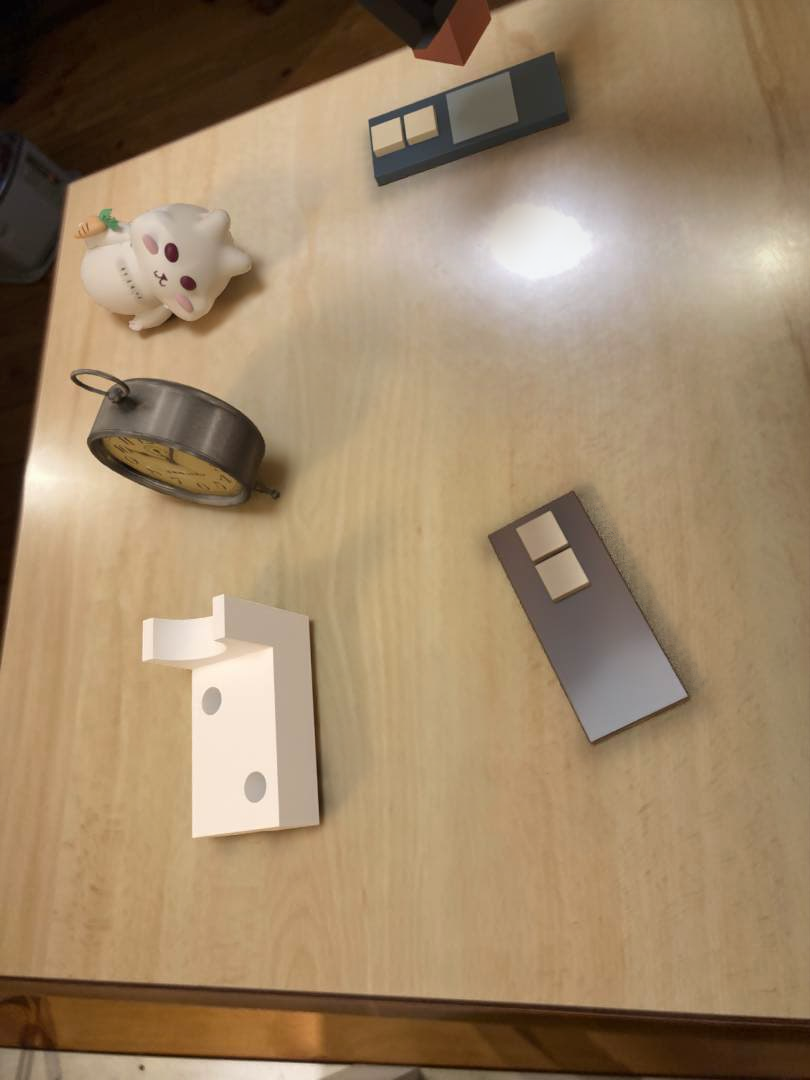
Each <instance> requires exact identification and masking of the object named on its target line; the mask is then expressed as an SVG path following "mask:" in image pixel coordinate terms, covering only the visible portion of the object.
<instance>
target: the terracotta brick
mask: <svg viewBox="0 0 810 1080" xmlns="http://www.w3.org/2000/svg"><path fill="white" fill-rule="evenodd" d="M491 21H492V16H491V11H490V8H489V5H488V1H487V0H458V1H457V3H456V4H455V6H454V8H453V9H452V11H451V13H450V14H449V16H448V18H447V19H446V21H445V23H444V24H443V26H442V28H441V29H440V31H439V33H438V34H437V35H436V37H435V38H434V39H433V41H432V42H431V43H430V45H429V46H428V47H427V49H420V50H413V49H411V51H412V54H413V57H414V58H415V59H417V60H422V61H429V62H435V63H439V64H440V63H441V64H447V65H453V66H459V67H465V66H466V64H467V62H468V60H469V59H470V57H471V56H472V53H473V52H474V50H475V49H476V47H477V45H478V44H479V43H480V40H481V38H482V37H483V35H484V34H485V31H486V30H487V28H488V27H489V25H490V23H491Z"/></svg>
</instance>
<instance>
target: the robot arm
mask: <svg viewBox="0 0 810 1080" xmlns="http://www.w3.org/2000/svg"><path fill="white" fill-rule="evenodd" d="M457 1H458V0H354V2H355V3H357V4H358V5H359V6H360V7H362V8H363V9H364V10H365V11H366V12H367V13H368V14H370V15H371V16H372V17H373V18H374V19H376V20H377V21H378V22H379V23H381V24H382V25H383V26H384V27H385V28H386V29H387V30H389V31H390V32H391V33H392V34H394V36H396V37H397V38H398V39H399V40H401V41H402V42H403V43H404V44H405V45H407V46H408V47H409V48H410V49H411V50H412V49H413V50H420V49H427V47H428V46H429V45H430V43H431V42H432V41H433V39H434V38H435V37H436V35H437V34H438V33H439V31H440V29H441V28H442V26H443V24H444V23H445V21H446V19H447V18H448V16H449V14H450V13H451V11H452V9H453V8H454V6H455V4H456V3H457Z"/></svg>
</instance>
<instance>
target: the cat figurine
mask: <svg viewBox="0 0 810 1080" xmlns="http://www.w3.org/2000/svg"><path fill="white" fill-rule="evenodd" d="M113 210H114V209H113V208H104V209H102V210H101V211H100V212H99V214H98V215H90V216H89V217H87V218H85V220H83V221H81V222H80V223H79V224H78V225H77V228H76V230H75V232H74V233H73V238H75V239H77V240H84V244H85V246H86V247H87V248H88V249H87V250H86V252H85V254H84V256H83V258H82V259H81V263H80V270H79V274H80V275H79V276H80V281H81V284H82V287H83V290H84V291H85V292H86V294H87V295H88V297H89V298H90V299H91V300H92V301H93V302H94V303H95V304H97V305H98V306H99V307H101V308H103V309H105V310H106V311H108V312H112V313H114V314H118V315H127V316H134V317H133V318H132V320H129V321H128V323H129V325H128V328H130V329H131V330H133V331H136V332H137V331H142V330H146V329H147V330H148V329H151V328H157V327H159V326H161V325H162V324H163V323H165V322H166V321H167V320H168V319H170V318H171V316H172V315H173V314H174V315H175V316H176V317H178V318H180V319H182V320H184V321H186V322H194V321H197V320H198V319H201V318H202V317H204V316H205V315H206V314H208V313H209V312H210V311H211V309H212V307H213V305H214V302H215V300H216V299H217V298H218V297H219V296H220V295H221V294H222V293H223V292H224V290H225V289H226V287H227V286H228V284H229V283H230V281H231V278H232V277H236V276H240V275H243V274H245V273H247V272H249V271H250V270H251V269H252V266H253V265H252V264H253V263H252V260H251V257H249V255H247V254H246V253H245V252H243V251H242V250H240V249H239V248H237V247H236V243H235V239H234V237H233V235H232V233H231V231H230V229H231V216H230V214H229V212H228V211H227V210H225V209H223V208H219V209H216V210H211V211H210V210H209V209H207V208H205V207H202V206H200V205H198V204H193V203H184V202H183V203H181V202H180V203H177V202H176V203H168V204H167V203H166V204H160V205H156V206H154V207H151V208H149V209H148V210H146V211H145V212H144V213H142V214H139V215H137V216H136V217H135V218H133V220H132V221H130V222H125V221H122V220H118V219H116V217H115V216H113V217H112V215H111V214H112V211H113Z"/></svg>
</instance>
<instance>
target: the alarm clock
mask: <svg viewBox="0 0 810 1080" xmlns="http://www.w3.org/2000/svg"><path fill="white" fill-rule="evenodd" d="M80 375H90V376H95V377H99V378H103V379H104V380H108V381H110V382H113V383H114V384H113V385H112V386H110V387H109V388H108V389H107V390H106V391H105V390H102V389H99V388H95V387H93V386H91V385H88V384H86V383H84V382H82V381H81V380H79V379H78V378H77V376H80ZM69 377H70V378H69V379H70V380H71V381H72V383H74V384H75V385H76V386H77V387H80V388H82V389H84V390H86V391H88V392H91V393H95V394H98V395H99V396H100V395H101V396H103V398H102V401H101V403H100V406H99V409H98V411H97V414H96V416H95V419H94V422H93V423H92V427H91V429H90V432H89V434H88V437H87V439H86V445H87V447H88V449H89V451H90V453H91V455H93V456H94V457H95V459H96V460H97V461H99V462H100V463H101V464H102V465H103V466H105V467H106V468H108V469H109V470H111V471H112V472H114V473H116V474H118V475H119V476H121V477H123V478H125V479H127V480H129V481H131V482H133V483H135V484H137V485H140V486H142V487H145V488H147V489H149V490H151V491H155V492H157V493H160V494H163V495H165V496H169V497H172V498H175V499H179V500H183V501H187V502H190V503H194V504H199V505H205V506H211V507H212V506H213V507H235V506H242V505H243V504H246V503H247V502H249V501H250V500H251V499H252V497H253V492H256V493H260V494H264V495H267V496H270V497H271V498H272V499H273V500H279V498H280V497H281V494H280V493H281V492H280V491H279V490H277V489H271V488H270V487H269V486H267V485H266V484H264V483H262V482H260V481H259V480H258V481H257V479H258V476H259V472H260V469H261V466H262V463H263V460H264V457H265V454H266V442H265V439H264V436H263V435H262V432H261V430H260V429H259V428H258V427H257V425H256V424H255V423H254V422H253V421H252V419H250V417H248V416H247V415H246V414H245V413H243V412H242V411H241V410H239V409H238V408H237V407H235V406H233V405H232V404H231V403H228V402H227V401H225V400H223V399H221V398H219V397H217V396H216V395H213V394H212V393H209V392H206V391H204V390H202V389H199V388H196V387H194V386H191V385H188V384H184V383H181V382H177V381H173V380H168V379H162V378H154V377H133V378H128V379H124V380H122V379H120V378H118V377H116V376H114V375H113V374H110V373H108V372H104V371H101V370H97V369H91V368H78V369H74V370H72V371H71V372H70V374H69Z"/></svg>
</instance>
